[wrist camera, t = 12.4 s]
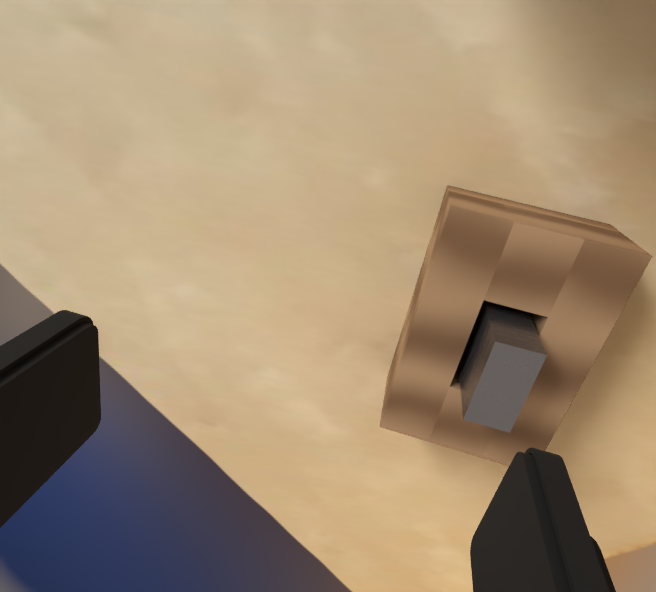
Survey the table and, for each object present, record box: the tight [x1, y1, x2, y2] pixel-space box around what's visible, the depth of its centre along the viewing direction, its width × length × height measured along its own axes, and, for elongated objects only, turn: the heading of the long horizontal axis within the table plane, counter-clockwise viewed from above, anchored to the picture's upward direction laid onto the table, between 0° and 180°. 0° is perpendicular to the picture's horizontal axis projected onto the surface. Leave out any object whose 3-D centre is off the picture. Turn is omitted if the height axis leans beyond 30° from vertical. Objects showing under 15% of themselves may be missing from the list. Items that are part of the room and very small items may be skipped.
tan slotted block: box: [380, 185, 652, 466], centre depth 35 cm, size 18×12×7 cm, turn 169°
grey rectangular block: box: [458, 300, 547, 433], centre depth 32 cm, size 6×3×9 cm, turn 169°
